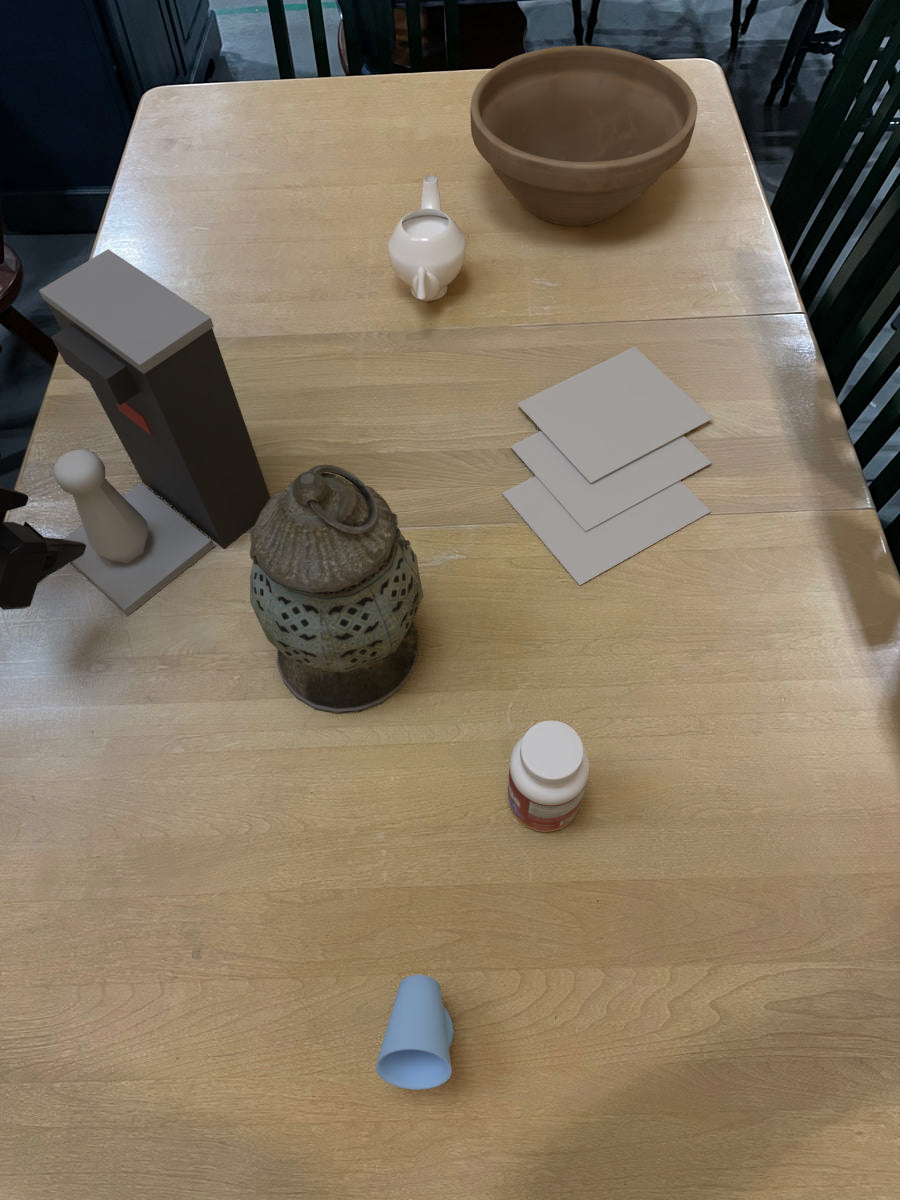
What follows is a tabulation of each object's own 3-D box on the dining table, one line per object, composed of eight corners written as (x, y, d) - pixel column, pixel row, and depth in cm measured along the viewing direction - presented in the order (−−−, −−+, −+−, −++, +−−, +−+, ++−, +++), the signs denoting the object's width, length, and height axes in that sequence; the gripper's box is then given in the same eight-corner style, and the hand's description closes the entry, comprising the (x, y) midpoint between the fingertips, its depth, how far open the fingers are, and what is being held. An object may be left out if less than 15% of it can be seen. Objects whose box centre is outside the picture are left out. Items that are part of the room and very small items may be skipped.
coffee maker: (134, 622, 83) (14, 448, 62) (53, 546, 89) (-84, 362, 67) (276, 508, 90) (210, 317, 69) (192, 444, 96) (107, 248, 74)
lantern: (319, 569, 86) (264, 384, 65) (449, 612, 82) (436, 433, 61) (251, 685, 79) (164, 522, 58) (389, 738, 76) (351, 584, 55)
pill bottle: (509, 760, 74) (512, 707, 65) (580, 766, 74) (594, 712, 64) (505, 831, 71) (507, 785, 61) (579, 837, 70) (593, 791, 61)
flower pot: (679, 143, 123) (697, 45, 112) (677, 268, 109) (699, 169, 97) (485, 135, 127) (485, 39, 115) (458, 255, 112) (455, 158, 101)
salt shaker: (130, 515, 89) (79, 428, 78) (166, 541, 87) (120, 455, 76) (86, 552, 87) (27, 467, 76) (123, 579, 85) (68, 497, 74)
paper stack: (771, 477, 90) (773, 473, 89) (579, 585, 83) (580, 581, 83) (633, 351, 101) (634, 346, 100) (454, 438, 94) (454, 433, 94)
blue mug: (455, 1093, 61) (457, 988, 65) (450, 1087, 52) (452, 967, 56) (386, 1091, 61) (392, 987, 65) (370, 1085, 53) (378, 965, 56)
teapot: (385, 342, 103) (376, 276, 95) (399, 240, 114) (392, 174, 106) (463, 342, 103) (461, 277, 95) (470, 240, 113) (469, 173, 105)
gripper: (-39, 484, 58) (145, 494, 72) (-167, 370, 66) (22, 399, 79) (-77, 620, 62) (105, 605, 75) (-195, 498, 69) (-10, 504, 82)
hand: (54, 524), depth 78 cm, fingers open, 9 cm apart
